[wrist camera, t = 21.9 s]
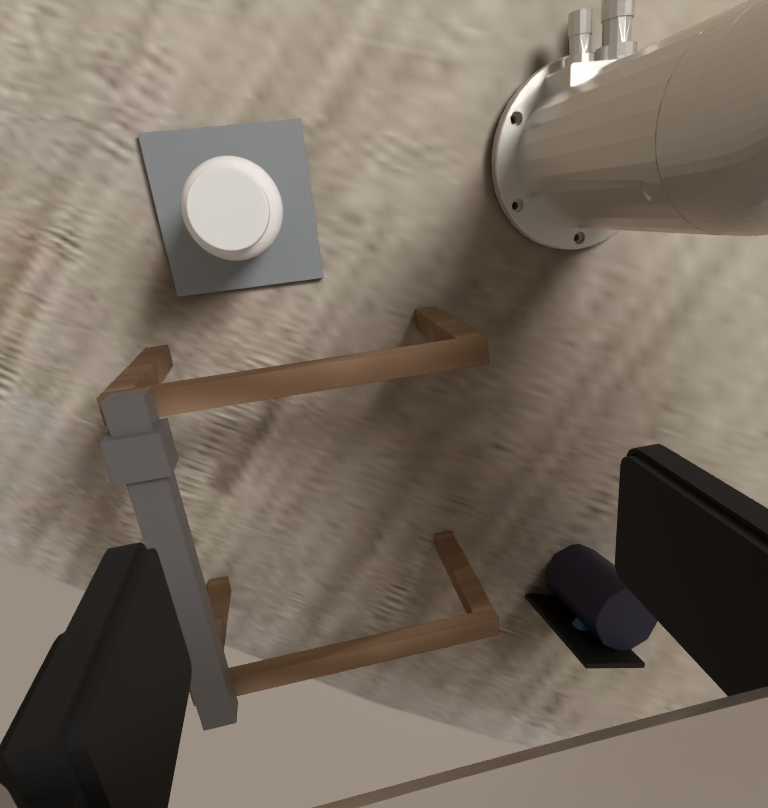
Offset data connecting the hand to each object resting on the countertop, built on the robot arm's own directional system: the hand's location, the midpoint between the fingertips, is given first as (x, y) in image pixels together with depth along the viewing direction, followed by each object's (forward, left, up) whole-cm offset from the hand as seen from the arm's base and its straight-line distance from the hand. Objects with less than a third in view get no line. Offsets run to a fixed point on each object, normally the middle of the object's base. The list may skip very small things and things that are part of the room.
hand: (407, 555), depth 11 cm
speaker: (+28, +20, -31) cm, 46 cm away
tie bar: (+12, -10, -19) cm, 25 cm away
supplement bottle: (-7, -4, -30) cm, 31 cm away
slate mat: (-7, -4, -30) cm, 31 cm away
